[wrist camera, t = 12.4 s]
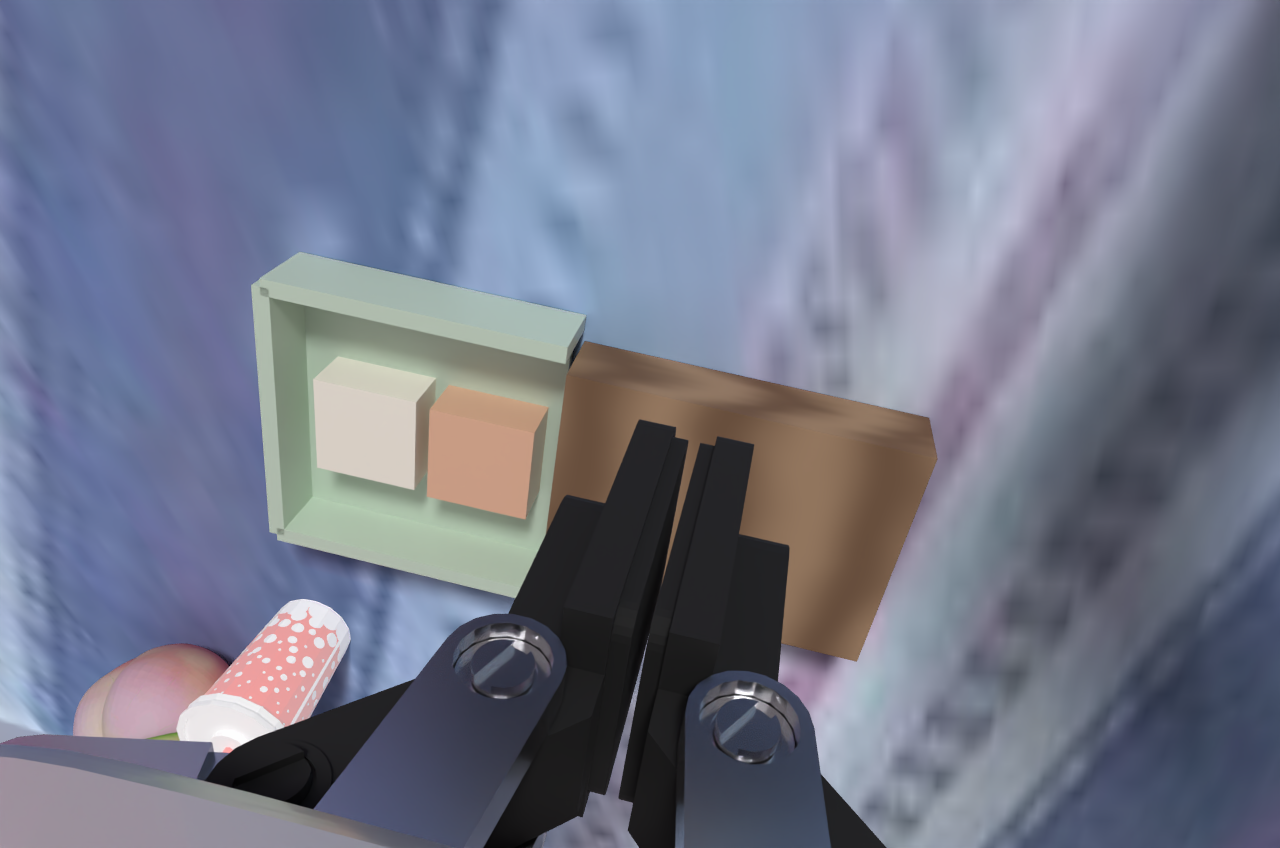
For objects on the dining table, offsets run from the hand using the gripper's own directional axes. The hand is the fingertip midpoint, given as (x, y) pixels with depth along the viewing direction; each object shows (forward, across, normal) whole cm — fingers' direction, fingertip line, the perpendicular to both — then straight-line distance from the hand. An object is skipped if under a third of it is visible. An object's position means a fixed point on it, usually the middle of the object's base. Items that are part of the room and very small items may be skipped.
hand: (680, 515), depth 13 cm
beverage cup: (+26, +22, +34) cm, 48 cm away
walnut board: (+26, -1, +17) cm, 31 cm away
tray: (+26, +14, +17) cm, 34 cm away
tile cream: (+23, +16, +17) cm, 33 cm away
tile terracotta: (+25, +11, +17) cm, 32 cm away
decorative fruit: (+25, +29, +39) cm, 54 cm away
